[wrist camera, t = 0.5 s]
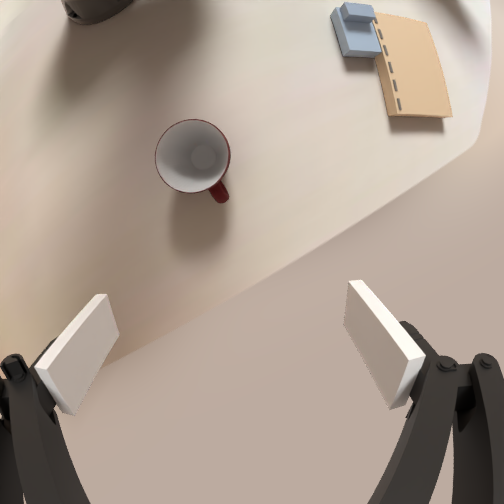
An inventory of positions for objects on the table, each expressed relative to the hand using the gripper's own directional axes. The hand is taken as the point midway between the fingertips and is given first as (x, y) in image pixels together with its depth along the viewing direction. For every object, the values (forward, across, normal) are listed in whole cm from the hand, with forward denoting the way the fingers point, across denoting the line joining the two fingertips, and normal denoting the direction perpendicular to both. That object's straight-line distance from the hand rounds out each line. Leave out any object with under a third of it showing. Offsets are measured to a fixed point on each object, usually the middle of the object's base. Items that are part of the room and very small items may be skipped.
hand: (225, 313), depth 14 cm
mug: (+27, -3, +7) cm, 28 cm away
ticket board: (+27, +29, +24) cm, 46 cm away
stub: (+27, +19, +28) cm, 44 cm away
